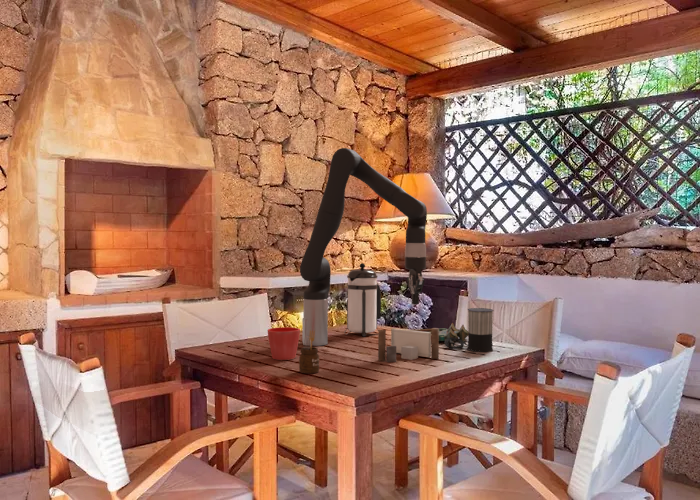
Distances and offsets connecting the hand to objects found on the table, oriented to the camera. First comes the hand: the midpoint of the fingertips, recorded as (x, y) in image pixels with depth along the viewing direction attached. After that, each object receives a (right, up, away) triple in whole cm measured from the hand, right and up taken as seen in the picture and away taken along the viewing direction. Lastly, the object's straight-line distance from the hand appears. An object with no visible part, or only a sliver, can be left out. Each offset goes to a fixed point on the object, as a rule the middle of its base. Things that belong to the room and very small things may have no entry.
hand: (415, 304), depth 217 cm
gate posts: (-4, -17, -16) cm, 24 cm away
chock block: (-3, -17, -13) cm, 22 cm away
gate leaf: (-2, -16, -8) cm, 18 cm away
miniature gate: (+10, -17, +27) cm, 34 cm away
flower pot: (-46, -17, -14) cm, 51 cm away
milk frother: (+20, -17, +4) cm, 27 cm away
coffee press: (-18, -16, +40) cm, 46 cm away
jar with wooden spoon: (-36, -17, -35) cm, 53 cm away
